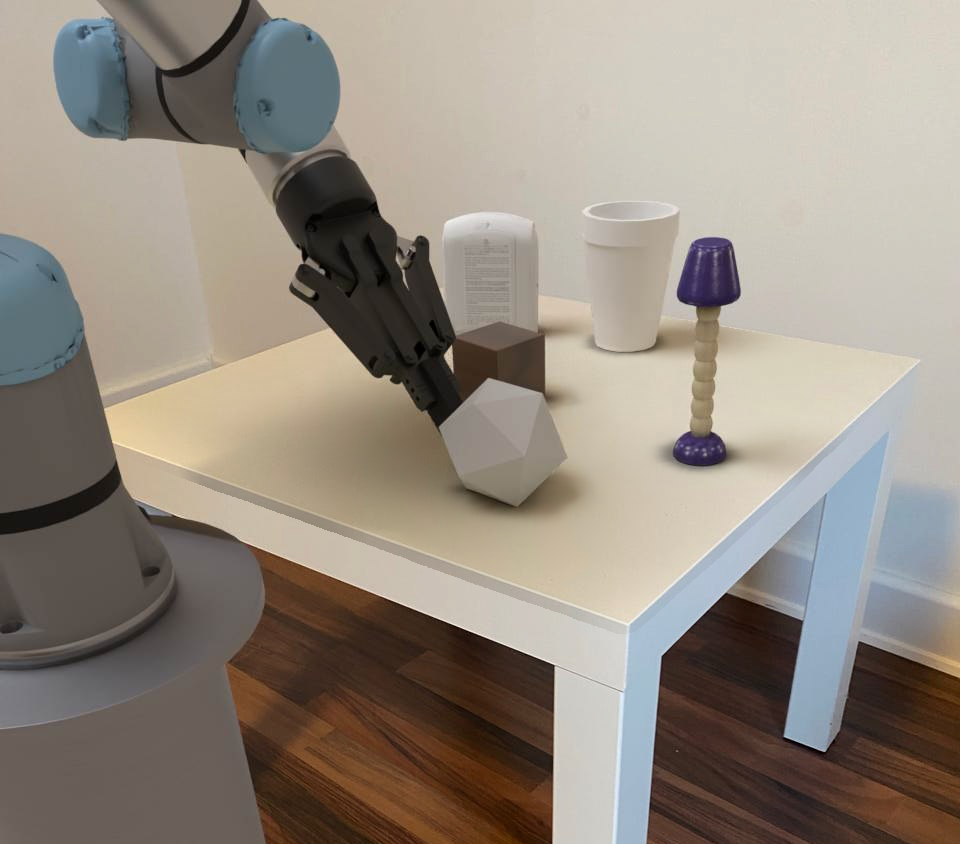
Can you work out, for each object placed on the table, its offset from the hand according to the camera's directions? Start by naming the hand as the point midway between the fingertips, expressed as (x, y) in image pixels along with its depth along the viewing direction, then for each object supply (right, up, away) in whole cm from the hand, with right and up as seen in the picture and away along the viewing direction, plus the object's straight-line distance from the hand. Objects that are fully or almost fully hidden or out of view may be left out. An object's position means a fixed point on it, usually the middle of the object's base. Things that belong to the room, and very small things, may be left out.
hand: (463, 438), depth 79 cm
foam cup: (+17, +15, +27) cm, 35 cm away
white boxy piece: (+3, +18, +31) cm, 36 cm away
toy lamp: (+19, -1, +3) cm, 19 cm away
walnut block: (+3, +7, +15) cm, 17 cm away
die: (+3, -4, -1) cm, 6 cm away
